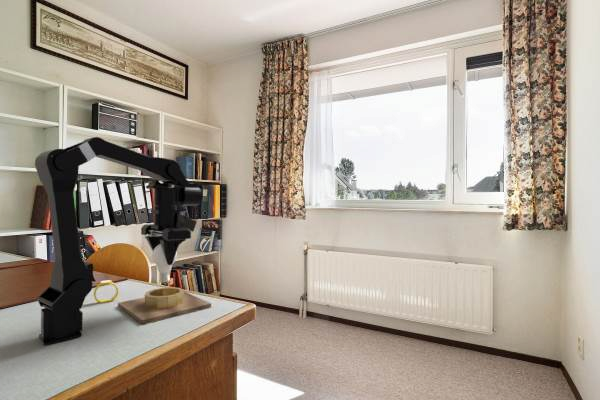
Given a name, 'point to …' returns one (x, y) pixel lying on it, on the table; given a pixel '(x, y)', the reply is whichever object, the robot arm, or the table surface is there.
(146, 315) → the socket base
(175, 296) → the socket collar
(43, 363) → the table surface
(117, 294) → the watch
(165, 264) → the lightbulb
